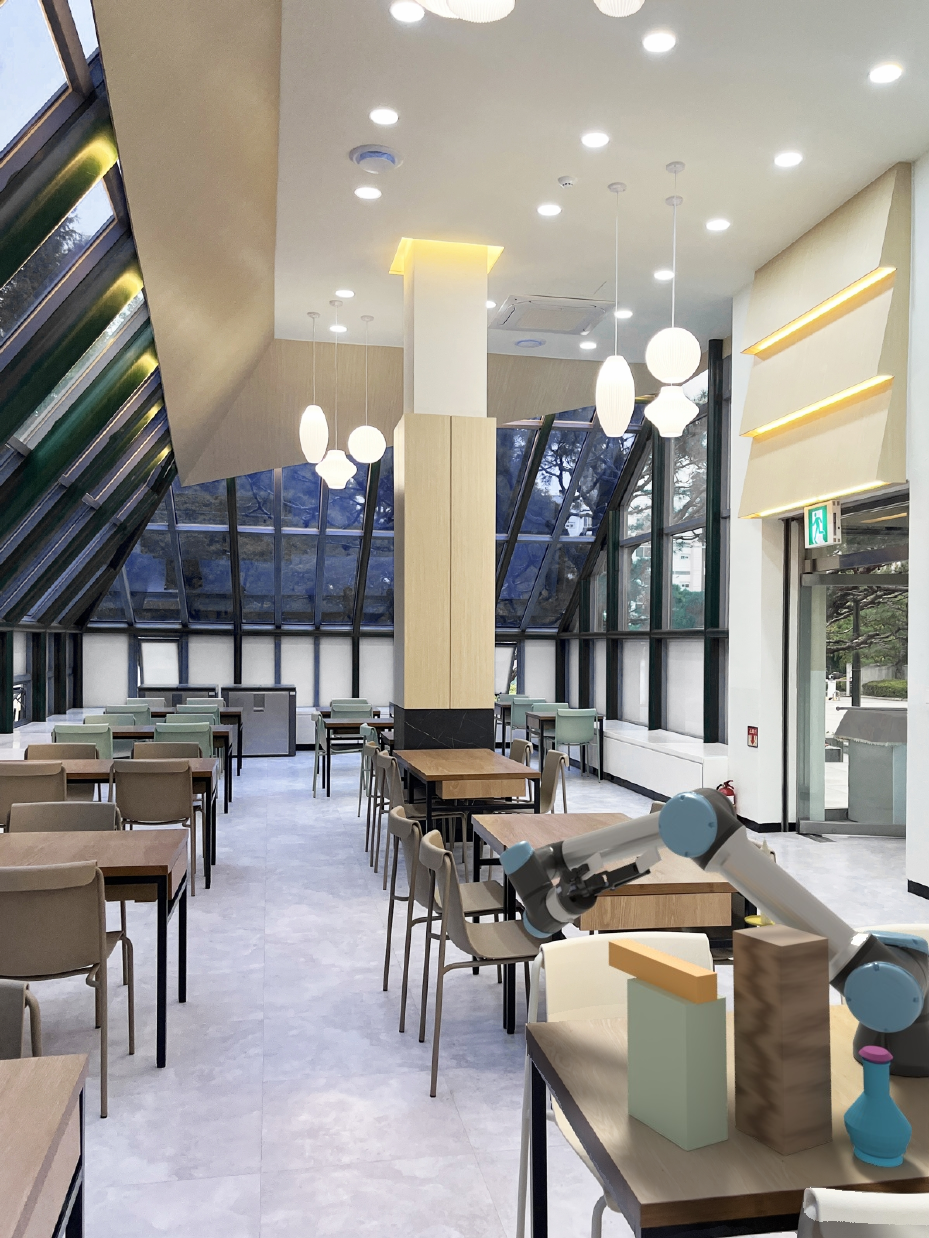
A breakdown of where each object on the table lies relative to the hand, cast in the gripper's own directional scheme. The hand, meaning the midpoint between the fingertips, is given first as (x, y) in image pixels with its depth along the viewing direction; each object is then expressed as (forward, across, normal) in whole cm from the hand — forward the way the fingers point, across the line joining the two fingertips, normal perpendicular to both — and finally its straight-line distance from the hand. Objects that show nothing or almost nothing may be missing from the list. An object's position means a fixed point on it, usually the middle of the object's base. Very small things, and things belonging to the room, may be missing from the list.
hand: (629, 856), depth 173 cm
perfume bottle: (+18, -10, -55) cm, 59 cm away
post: (+9, -3, -49) cm, 50 cm away
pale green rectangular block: (+1, +10, -44) cm, 45 cm away
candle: (-23, -39, -30) cm, 54 cm away
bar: (+8, +10, -24) cm, 27 cm away
